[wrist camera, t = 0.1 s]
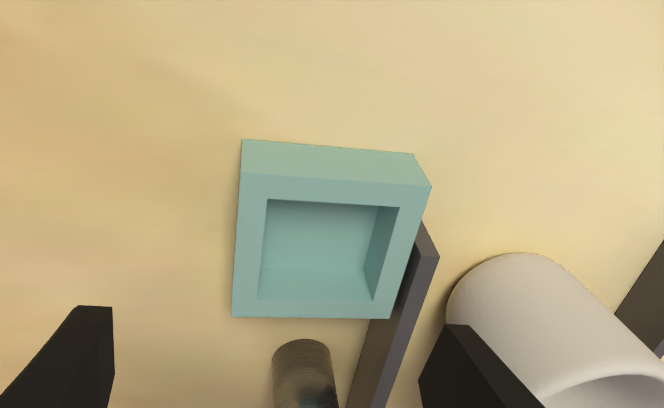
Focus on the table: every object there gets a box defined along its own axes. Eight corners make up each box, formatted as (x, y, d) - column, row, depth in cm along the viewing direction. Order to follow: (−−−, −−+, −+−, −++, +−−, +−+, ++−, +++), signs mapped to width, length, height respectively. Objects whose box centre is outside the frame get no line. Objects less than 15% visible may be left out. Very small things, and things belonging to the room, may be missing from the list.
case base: (547, 427, 34) (570, 470, 31) (337, 435, 31) (344, 483, 28) (684, 230, 25) (732, 269, 22) (402, 213, 21) (421, 256, 19)
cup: (612, 312, 28) (724, 445, 21) (494, 379, 30) (563, 519, 23) (533, 202, 22) (651, 336, 16) (397, 293, 24) (450, 445, 18)
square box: (377, 279, 24) (389, 318, 21) (232, 274, 22) (230, 316, 20) (412, 154, 20) (432, 186, 18) (242, 138, 18) (240, 172, 16)
